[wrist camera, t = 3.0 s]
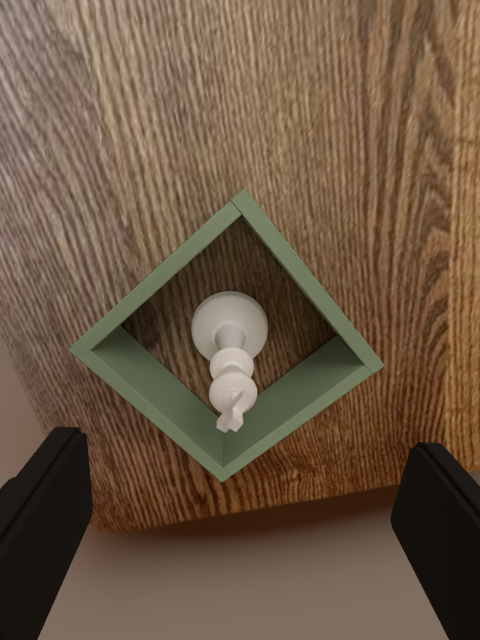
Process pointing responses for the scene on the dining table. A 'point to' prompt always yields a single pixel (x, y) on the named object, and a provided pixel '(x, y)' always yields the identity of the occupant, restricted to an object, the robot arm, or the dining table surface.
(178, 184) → the dining table surface
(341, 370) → the square frame
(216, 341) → the chess piece
